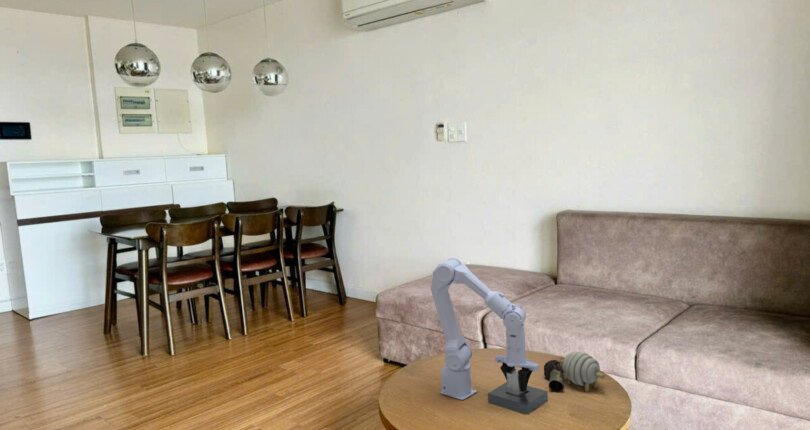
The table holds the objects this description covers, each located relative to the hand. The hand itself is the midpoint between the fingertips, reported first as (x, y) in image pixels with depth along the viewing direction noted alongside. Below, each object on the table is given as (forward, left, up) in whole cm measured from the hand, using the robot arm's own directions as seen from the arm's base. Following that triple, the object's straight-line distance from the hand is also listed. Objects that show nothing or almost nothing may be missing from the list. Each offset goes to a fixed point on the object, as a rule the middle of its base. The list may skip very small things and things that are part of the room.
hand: (517, 388), depth 175 cm
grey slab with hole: (0, 0, -4) cm, 4 cm away
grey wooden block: (0, 0, -2) cm, 2 cm away
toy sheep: (+11, +22, -4) cm, 25 cm away
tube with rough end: (+1, +20, -5) cm, 21 cm away
